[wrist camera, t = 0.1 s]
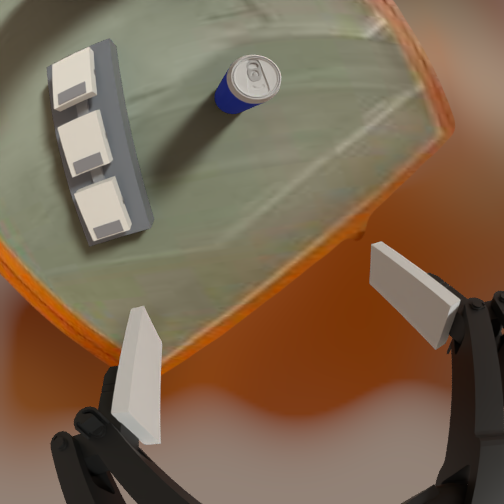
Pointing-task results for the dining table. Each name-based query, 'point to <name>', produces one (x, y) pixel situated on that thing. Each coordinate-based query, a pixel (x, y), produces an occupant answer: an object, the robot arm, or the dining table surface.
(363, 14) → the dining table surface
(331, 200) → the dining table surface
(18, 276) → the dining table surface
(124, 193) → the switch console
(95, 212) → the rocker
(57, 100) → the plate
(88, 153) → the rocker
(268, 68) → the beverage can
